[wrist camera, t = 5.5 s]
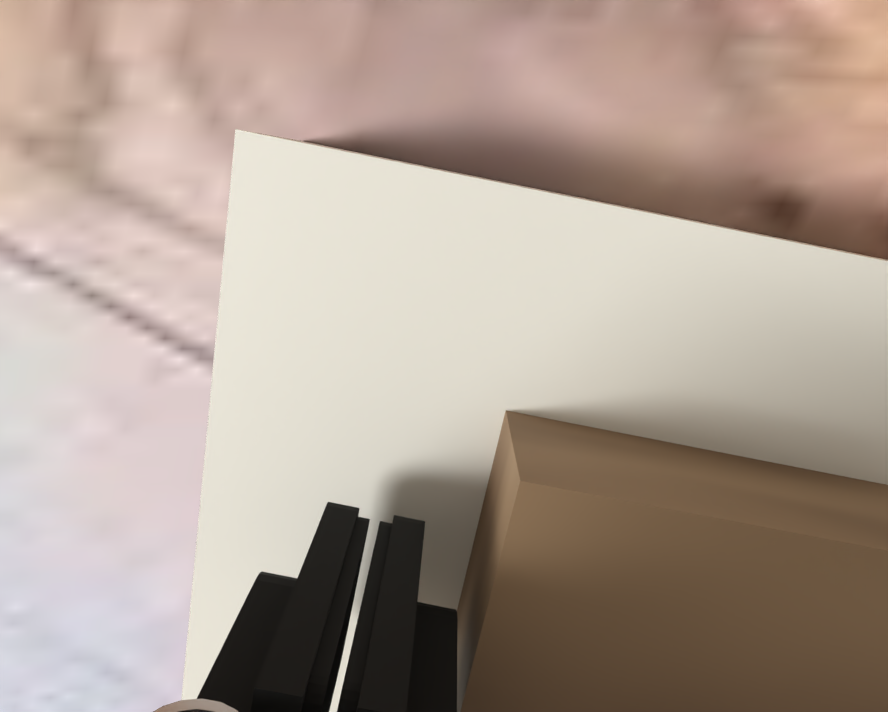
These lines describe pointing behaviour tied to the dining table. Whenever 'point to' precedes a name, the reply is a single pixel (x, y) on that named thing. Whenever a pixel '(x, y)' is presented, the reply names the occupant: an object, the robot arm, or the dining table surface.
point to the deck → (493, 355)
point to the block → (669, 581)
